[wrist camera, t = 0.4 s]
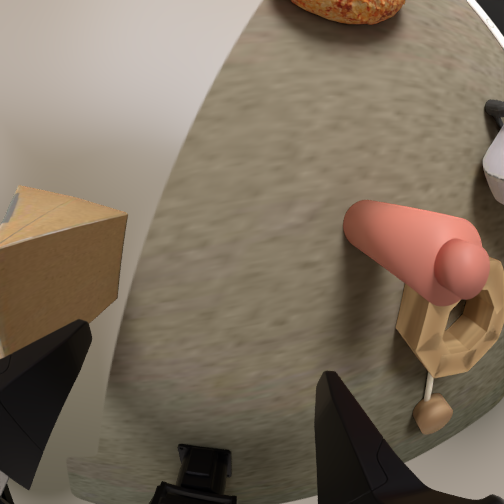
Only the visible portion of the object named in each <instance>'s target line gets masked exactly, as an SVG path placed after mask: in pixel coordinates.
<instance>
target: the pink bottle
mask: <svg viewBox="0 0 504 504" xmlns="http://www.w3.org/2000/svg"><path fill="white" fill-rule="evenodd" d="M343 229H344V233H345V236H346V238H347V239H348V241H349V242H350V243H351V244H352V245H353V246H355V247H356V248H358V249H359V250H361V251H362V252H363V253H365V254H366V255H368V256H369V257H370V258H372V259H373V260H374V261H376V262H377V263H379V264H380V265H381V266H383V267H384V268H385V269H387V270H388V271H389V272H391V273H392V274H393V275H395V276H396V277H397V278H399V279H400V280H401V281H403V282H404V283H405V284H407V285H408V286H409V287H411V288H412V289H413V290H414V291H416V292H417V293H418V294H420V295H421V296H422V297H423V298H425V299H426V300H427V301H428V302H430V303H431V304H434V305H436V306H449V305H452V304H455V303H457V302H458V301H460V300H461V299H464V300H467V299H471V298H473V297H475V296H476V295H478V294H479V293H480V292H481V290H482V289H483V287H484V286H485V284H486V282H487V279H488V276H489V271H490V260H489V256H488V254H487V252H486V250H485V249H484V248H482V242H481V238H480V236H479V233H478V231H477V230H476V228H475V227H474V226H473V225H472V224H471V223H470V222H469V221H467V220H465V219H463V218H459V217H454V216H450V215H445V214H441V213H436V212H431V211H426V210H421V209H416V208H411V207H406V206H401V205H395V204H389V203H384V202H378V201H372V200H361V201H358V202H356V203H355V204H353V205H352V206H351V207H350V208H349V209H348V211H347V212H346V214H345V217H344V222H343Z"/></svg>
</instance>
